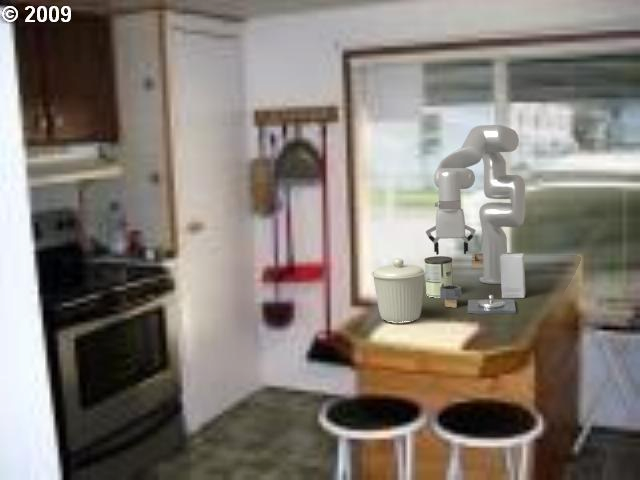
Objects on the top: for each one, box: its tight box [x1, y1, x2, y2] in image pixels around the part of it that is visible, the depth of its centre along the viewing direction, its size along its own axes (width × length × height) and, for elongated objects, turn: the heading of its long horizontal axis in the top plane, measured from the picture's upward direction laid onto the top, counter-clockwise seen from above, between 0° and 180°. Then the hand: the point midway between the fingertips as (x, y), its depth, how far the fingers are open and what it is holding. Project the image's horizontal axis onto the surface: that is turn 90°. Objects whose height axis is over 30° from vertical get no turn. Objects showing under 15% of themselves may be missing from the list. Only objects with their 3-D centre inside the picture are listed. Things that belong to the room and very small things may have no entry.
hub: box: [467, 294, 517, 315], centre depth 275 cm, size 16×16×4 cm
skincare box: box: [500, 253, 526, 299], centre depth 289 cm, size 8×7×16 cm
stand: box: [444, 299, 458, 308], centre depth 282 cm, size 6×4×4 cm, turn 168°
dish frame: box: [471, 252, 517, 270], centre depth 353 cm, size 20×19×3 cm
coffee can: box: [424, 255, 454, 299], centre depth 298 cm, size 10×10×14 cm
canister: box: [371, 257, 426, 322], centre depth 265 cm, size 18×18×21 cm
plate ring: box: [439, 284, 462, 300], centre depth 282 cm, size 7×7×4 cm
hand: (451, 253), depth 280 cm, fingers open, 9 cm apart
